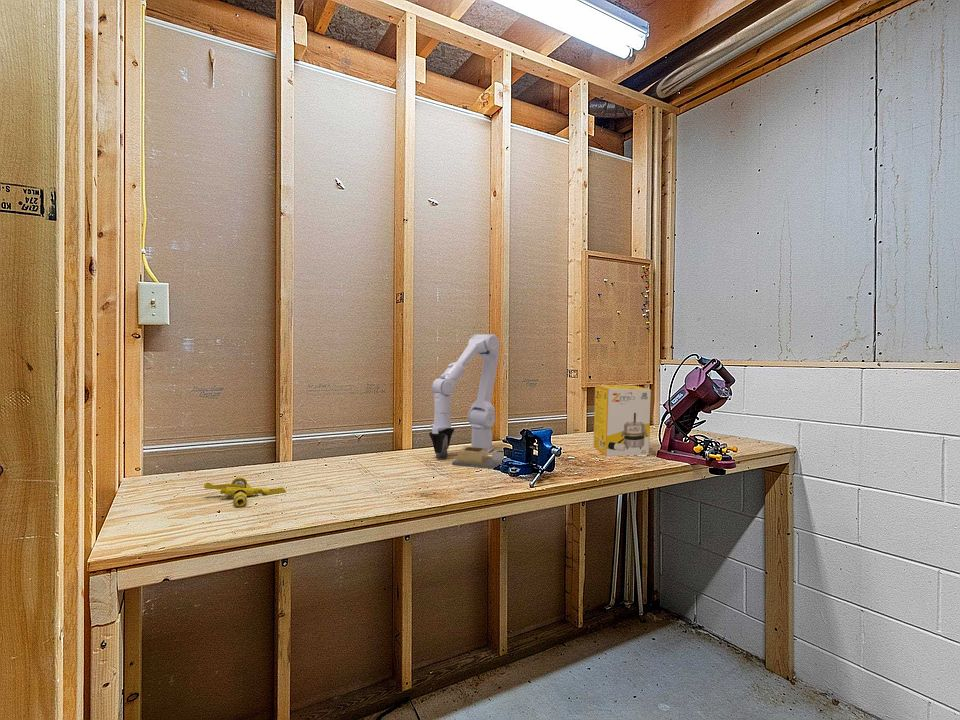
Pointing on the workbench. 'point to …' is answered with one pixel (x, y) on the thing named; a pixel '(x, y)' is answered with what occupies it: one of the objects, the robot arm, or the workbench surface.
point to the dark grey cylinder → (443, 449)
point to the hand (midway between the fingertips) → (441, 450)
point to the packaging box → (622, 420)
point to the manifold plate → (478, 457)
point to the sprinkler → (242, 490)
